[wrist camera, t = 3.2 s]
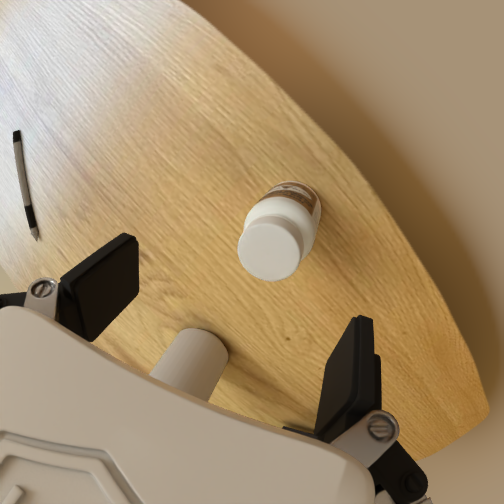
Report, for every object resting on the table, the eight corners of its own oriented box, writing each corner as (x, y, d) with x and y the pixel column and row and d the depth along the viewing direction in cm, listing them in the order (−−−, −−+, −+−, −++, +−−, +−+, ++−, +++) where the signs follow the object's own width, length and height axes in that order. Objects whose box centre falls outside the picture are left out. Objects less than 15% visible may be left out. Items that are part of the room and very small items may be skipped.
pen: (21, 129, 27) (14, 131, 26) (42, 240, 35) (36, 244, 33) (17, 130, 27) (10, 132, 26) (38, 240, 35) (32, 243, 34)
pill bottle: (319, 177, 20) (306, 212, 14) (323, 234, 22) (311, 290, 16) (260, 181, 22) (221, 216, 15) (268, 234, 24) (235, 288, 17)
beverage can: (170, 337, 33) (116, 411, 23) (198, 314, 30) (138, 401, 20) (210, 370, 34) (166, 448, 24) (242, 352, 31) (198, 444, 21)
